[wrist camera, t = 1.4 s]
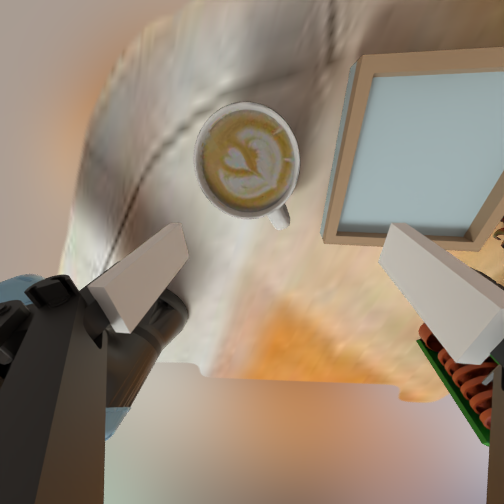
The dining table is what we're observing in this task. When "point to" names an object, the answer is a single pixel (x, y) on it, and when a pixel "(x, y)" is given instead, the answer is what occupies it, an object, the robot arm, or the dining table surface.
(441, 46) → the dining table surface
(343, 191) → the picture frame
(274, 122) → the coffee mug
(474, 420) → the green and brown toy
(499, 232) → the dragon fruit
